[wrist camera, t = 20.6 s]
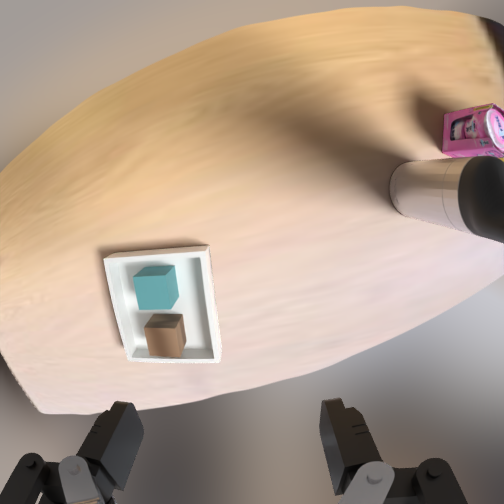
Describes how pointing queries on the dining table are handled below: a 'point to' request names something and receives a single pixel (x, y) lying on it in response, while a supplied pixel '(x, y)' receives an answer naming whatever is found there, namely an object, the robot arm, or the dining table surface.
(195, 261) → the white tray
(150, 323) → the walnut block
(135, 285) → the teal block
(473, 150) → the gum box
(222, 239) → the dining table surface
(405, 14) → the dining table surface
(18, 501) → the robot arm
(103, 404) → the dining table surface
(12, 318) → the dining table surface
